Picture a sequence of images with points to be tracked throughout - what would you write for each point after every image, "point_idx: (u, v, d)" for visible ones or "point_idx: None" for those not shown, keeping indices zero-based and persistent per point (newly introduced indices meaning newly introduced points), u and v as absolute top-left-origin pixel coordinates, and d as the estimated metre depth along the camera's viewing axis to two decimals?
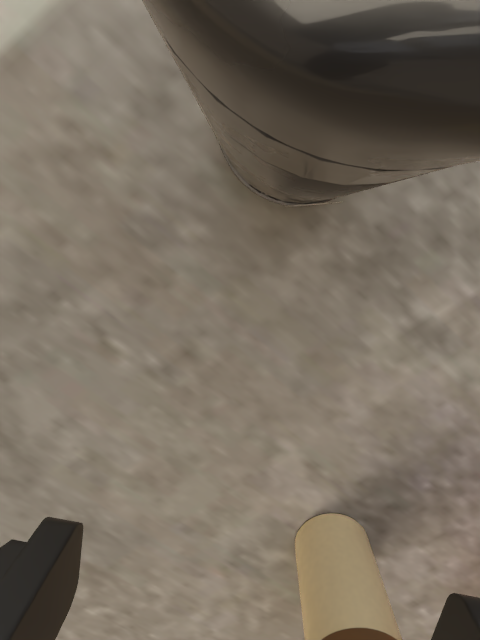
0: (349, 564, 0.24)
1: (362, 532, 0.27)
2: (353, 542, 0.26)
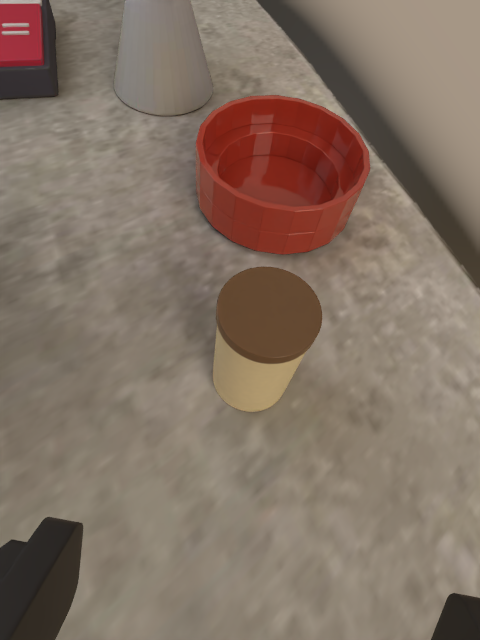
0: None
1: None
2: None
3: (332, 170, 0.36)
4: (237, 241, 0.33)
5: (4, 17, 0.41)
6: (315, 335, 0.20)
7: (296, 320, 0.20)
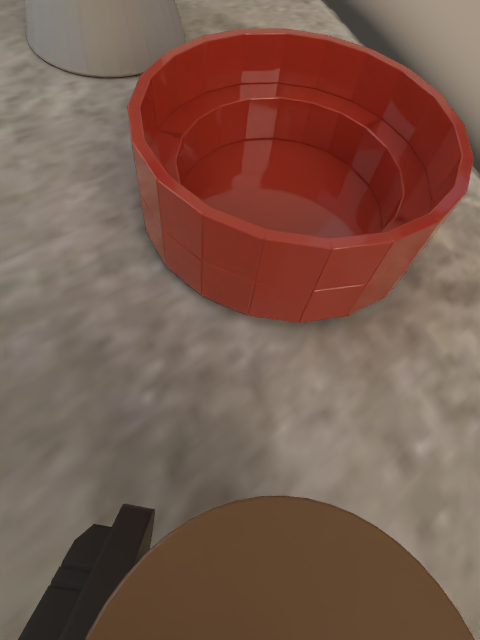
0: None
1: None
2: None
3: (386, 162, 0.20)
4: (213, 297, 0.17)
5: None
6: None
7: None
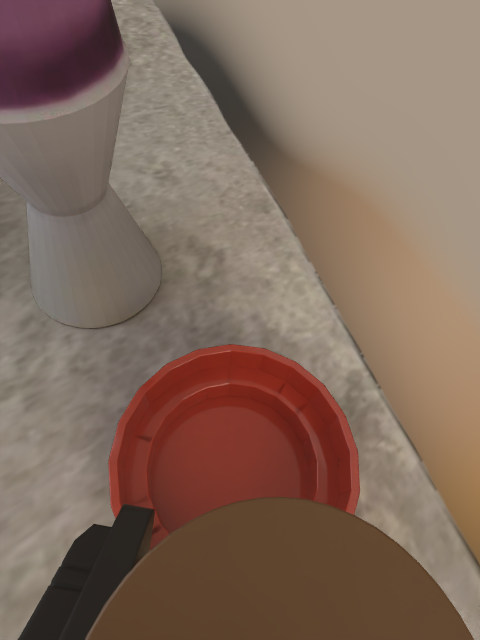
0: None
1: None
2: None
3: (310, 445, 0.26)
4: None
5: None
6: None
7: None
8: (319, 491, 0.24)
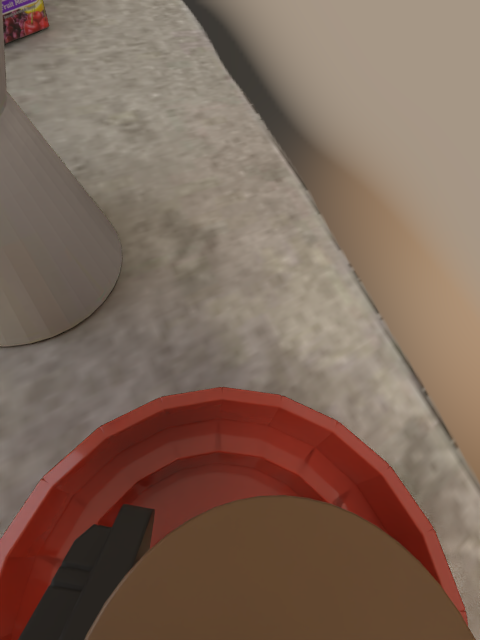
0: None
1: None
2: None
3: None
4: None
5: None
6: None
7: None
8: None
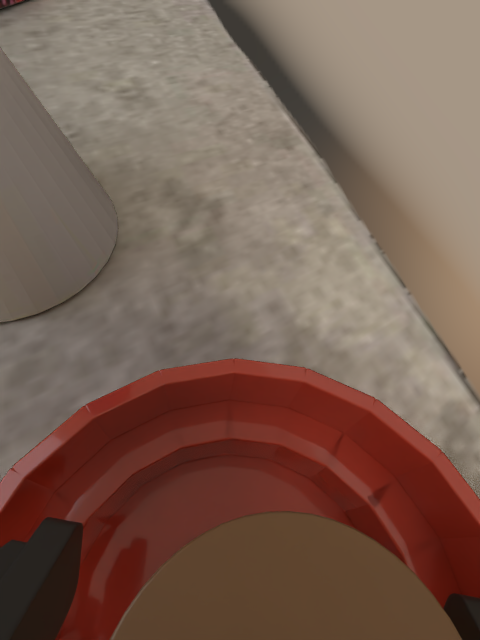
0: None
1: None
2: None
3: None
4: None
5: None
6: None
7: None
8: None
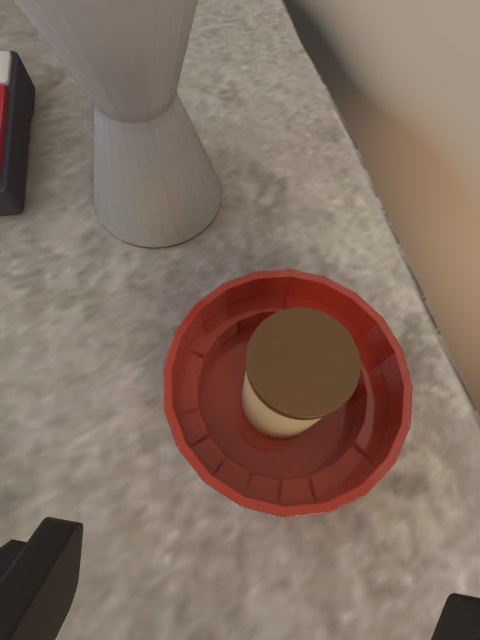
0: None
1: None
2: None
3: (360, 379, 0.26)
4: None
5: None
6: (350, 394, 0.18)
7: (331, 375, 0.19)
8: (366, 423, 0.24)
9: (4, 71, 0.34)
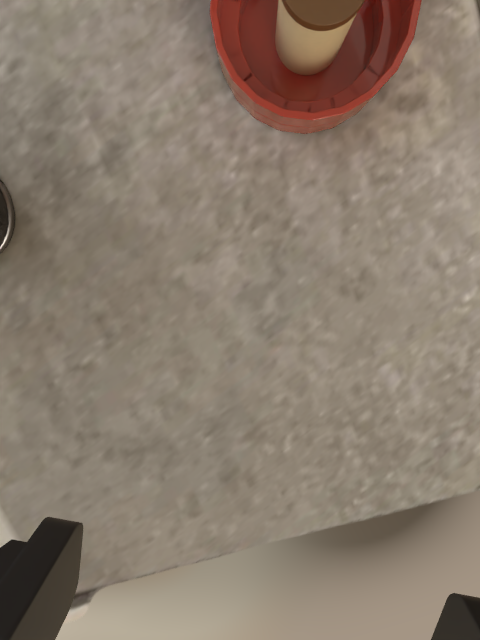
0: None
1: None
2: None
3: (379, 4, 0.29)
4: (261, 121, 0.33)
5: None
6: None
7: None
8: (379, 46, 0.30)
9: None
